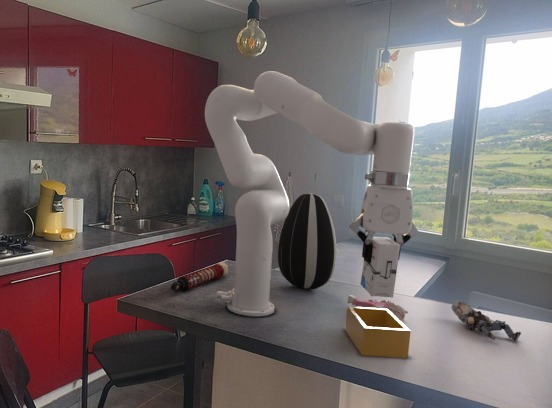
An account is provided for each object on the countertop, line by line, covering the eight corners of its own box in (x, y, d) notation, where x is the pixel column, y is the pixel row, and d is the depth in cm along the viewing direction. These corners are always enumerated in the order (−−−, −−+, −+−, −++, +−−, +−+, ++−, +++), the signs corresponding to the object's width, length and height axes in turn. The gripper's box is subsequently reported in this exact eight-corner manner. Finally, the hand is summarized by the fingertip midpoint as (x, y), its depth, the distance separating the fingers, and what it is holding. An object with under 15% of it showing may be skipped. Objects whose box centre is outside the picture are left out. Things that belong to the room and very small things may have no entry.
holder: (361, 355, 96) (364, 327, 95) (345, 330, 109) (347, 306, 108) (407, 358, 95) (410, 330, 95) (385, 332, 109) (387, 308, 108)
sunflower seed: (337, 290, 143) (345, 195, 139) (327, 297, 134) (336, 197, 131) (282, 278, 152) (288, 190, 149) (269, 285, 144) (276, 191, 140)
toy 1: (340, 313, 122) (396, 337, 113) (344, 294, 120) (401, 316, 111) (353, 302, 128) (407, 323, 119) (356, 283, 126) (412, 304, 117)
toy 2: (486, 337, 104) (437, 306, 118) (508, 358, 109) (459, 326, 123) (505, 314, 104) (454, 286, 118) (527, 336, 109) (475, 306, 122)
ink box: (359, 284, 106) (365, 235, 104) (381, 286, 106) (387, 236, 104) (371, 296, 97) (377, 242, 96) (394, 298, 97) (401, 244, 96)
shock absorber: (181, 285, 127) (235, 265, 152) (169, 275, 129) (224, 257, 154) (175, 298, 129) (230, 276, 154) (164, 289, 131) (219, 269, 156)
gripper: (355, 178, 95) (345, 263, 97) (437, 184, 94) (425, 269, 97) (345, 176, 102) (337, 255, 104) (421, 182, 102) (411, 261, 104)
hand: (379, 261), depth 100 cm, fingers closed on ink box, 5 cm apart
